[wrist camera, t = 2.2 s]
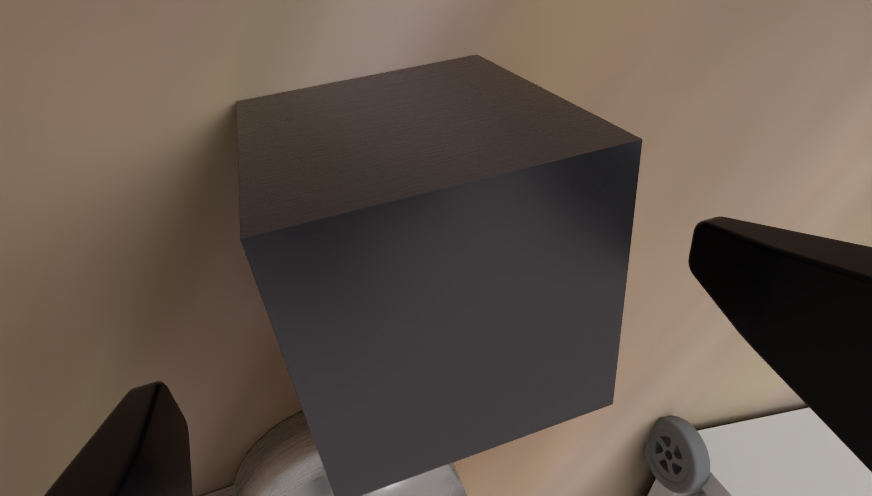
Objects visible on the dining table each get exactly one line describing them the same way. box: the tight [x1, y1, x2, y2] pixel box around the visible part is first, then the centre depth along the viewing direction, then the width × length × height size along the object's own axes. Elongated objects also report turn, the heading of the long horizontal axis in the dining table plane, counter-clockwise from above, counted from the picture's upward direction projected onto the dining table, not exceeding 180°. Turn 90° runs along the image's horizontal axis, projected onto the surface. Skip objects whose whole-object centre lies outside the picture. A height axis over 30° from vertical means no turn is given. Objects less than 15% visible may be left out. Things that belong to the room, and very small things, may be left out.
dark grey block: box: [237, 55, 642, 496], centre depth 11 cm, size 5×5×6 cm
